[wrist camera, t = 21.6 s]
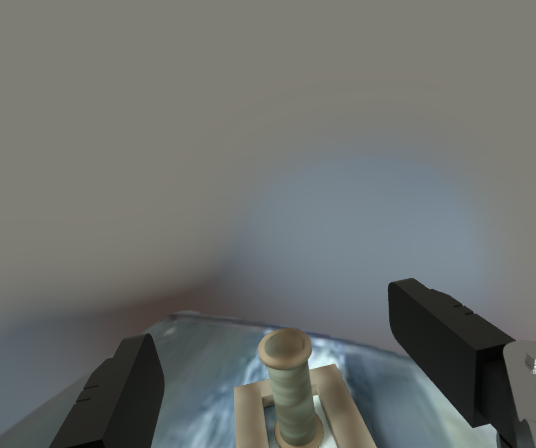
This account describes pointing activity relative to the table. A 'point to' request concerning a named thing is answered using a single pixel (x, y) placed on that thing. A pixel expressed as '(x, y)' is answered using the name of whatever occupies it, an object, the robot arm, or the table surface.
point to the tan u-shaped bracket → (323, 384)
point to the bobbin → (291, 388)
